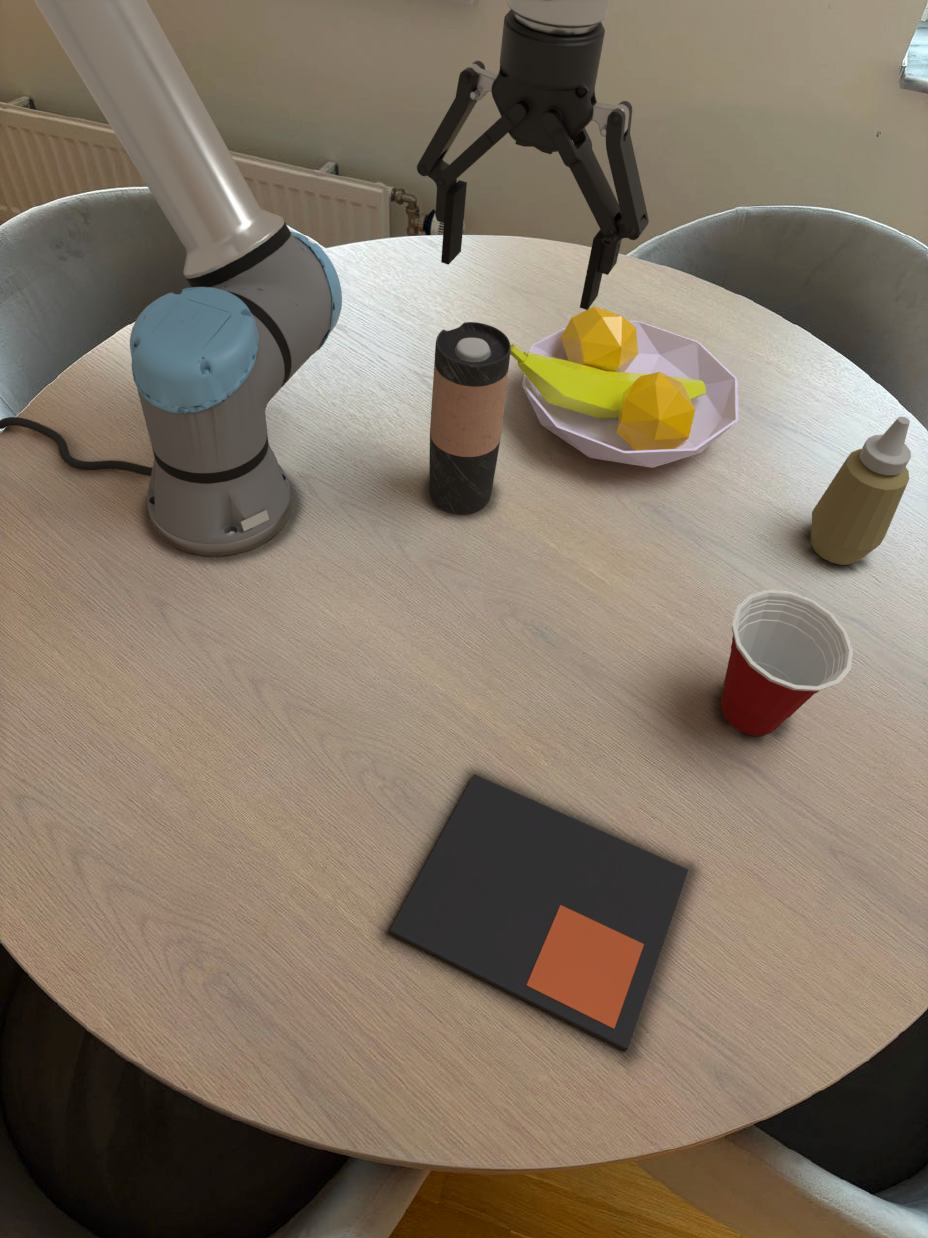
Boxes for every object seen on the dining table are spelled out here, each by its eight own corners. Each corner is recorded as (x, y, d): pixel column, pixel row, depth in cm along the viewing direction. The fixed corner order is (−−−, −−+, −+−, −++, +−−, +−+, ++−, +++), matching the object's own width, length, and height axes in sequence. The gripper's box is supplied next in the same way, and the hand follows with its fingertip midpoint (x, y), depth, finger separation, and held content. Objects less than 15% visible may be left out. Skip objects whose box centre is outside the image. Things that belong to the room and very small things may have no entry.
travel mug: (486, 522, 106) (504, 372, 91) (419, 509, 106) (426, 358, 91) (498, 477, 111) (518, 328, 95) (434, 465, 111) (443, 315, 96)
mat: (389, 933, 75) (389, 930, 75) (473, 777, 85) (474, 773, 84) (626, 1051, 71) (628, 1049, 70) (686, 872, 80) (688, 869, 80)
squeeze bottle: (877, 537, 109) (949, 410, 95) (865, 583, 104) (940, 457, 90) (807, 513, 111) (869, 385, 97) (793, 557, 106) (855, 429, 92)
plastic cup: (786, 781, 87) (835, 706, 78) (679, 724, 90) (713, 646, 81) (823, 700, 93) (872, 623, 84) (721, 650, 96) (758, 570, 87)
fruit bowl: (724, 373, 127) (749, 298, 119) (724, 510, 110) (754, 433, 101) (518, 340, 129) (528, 263, 120) (487, 469, 112) (496, 390, 103)
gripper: (381, -11, 70) (377, 256, 86) (705, 75, 65) (635, 342, 81) (426, -37, 74) (414, 221, 91) (732, 41, 69) (661, 300, 86)
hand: (518, 279), depth 86 cm, fingers open, 13 cm apart
